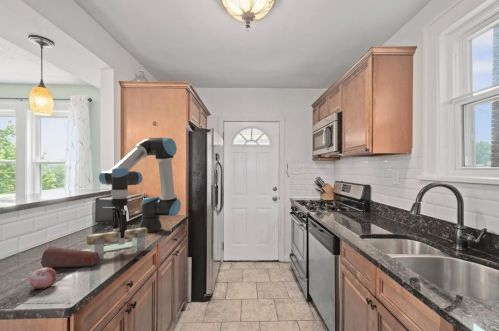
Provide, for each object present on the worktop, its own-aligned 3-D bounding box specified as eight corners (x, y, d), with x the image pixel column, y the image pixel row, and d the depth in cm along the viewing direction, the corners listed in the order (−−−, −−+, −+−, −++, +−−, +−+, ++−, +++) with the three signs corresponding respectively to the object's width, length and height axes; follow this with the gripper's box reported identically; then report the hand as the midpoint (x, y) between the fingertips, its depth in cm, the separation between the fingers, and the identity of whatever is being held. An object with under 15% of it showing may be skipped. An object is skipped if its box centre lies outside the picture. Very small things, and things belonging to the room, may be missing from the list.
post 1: (99, 254, 139) (99, 235, 139) (103, 258, 134) (103, 238, 134) (90, 256, 136) (90, 237, 136) (94, 260, 131) (94, 239, 131)
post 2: (139, 247, 153) (139, 230, 153) (144, 250, 148) (144, 232, 148) (131, 248, 150) (132, 231, 150) (137, 251, 145) (137, 233, 145)
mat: (137, 241, 165) (137, 240, 165) (144, 245, 158) (144, 244, 158) (74, 252, 143) (74, 251, 143) (79, 256, 136) (79, 255, 136)
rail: (144, 234, 153) (144, 227, 153) (147, 235, 150) (147, 228, 150) (86, 243, 134) (86, 235, 134) (89, 245, 131) (89, 236, 131)
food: (40, 271, 117) (40, 250, 117) (50, 264, 126) (51, 244, 126) (95, 268, 121) (95, 247, 121) (102, 261, 130) (102, 241, 131)
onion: (28, 293, 96) (29, 272, 96) (29, 285, 102) (30, 266, 102) (56, 288, 100) (57, 268, 100) (56, 281, 107) (56, 262, 107)
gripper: (105, 196, 147) (104, 240, 147) (118, 200, 132) (117, 248, 132) (120, 195, 152) (119, 237, 152) (134, 199, 138) (133, 245, 137)
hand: (118, 242), depth 142 cm, fingers open, 8 cm apart
